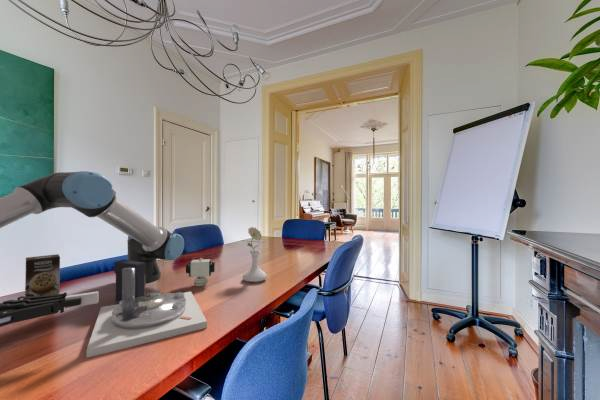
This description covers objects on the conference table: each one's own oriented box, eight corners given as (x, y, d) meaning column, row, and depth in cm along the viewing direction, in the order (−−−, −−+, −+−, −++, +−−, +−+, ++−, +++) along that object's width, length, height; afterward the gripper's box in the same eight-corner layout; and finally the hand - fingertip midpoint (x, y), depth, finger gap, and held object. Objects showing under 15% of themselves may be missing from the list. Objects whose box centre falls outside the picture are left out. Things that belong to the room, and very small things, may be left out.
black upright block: (146, 302, 95) (146, 261, 95) (136, 306, 91) (136, 264, 91) (125, 298, 98) (125, 259, 98) (113, 302, 94) (114, 261, 94)
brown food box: (25, 305, 91) (25, 260, 91) (24, 300, 95) (24, 257, 95) (60, 298, 97) (60, 256, 97) (58, 293, 102) (58, 253, 102)
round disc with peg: (115, 307, 84) (115, 257, 84) (181, 295, 95) (181, 251, 95) (108, 336, 67) (108, 273, 67) (190, 318, 78) (190, 264, 78)
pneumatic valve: (213, 286, 112) (214, 259, 112) (185, 287, 110) (185, 260, 110) (215, 282, 118) (215, 256, 118) (188, 283, 115) (188, 257, 115)
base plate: (101, 312, 86) (101, 306, 86) (191, 296, 101) (191, 290, 101) (86, 357, 62) (86, 348, 62) (206, 327, 77) (206, 320, 77)
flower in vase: (271, 281, 120) (271, 228, 119) (248, 285, 113) (248, 229, 113) (259, 274, 130) (259, 225, 130) (237, 278, 124) (237, 226, 124)
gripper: (-23, 322, 62) (101, 302, 74) (-58, 350, 51) (94, 321, 63) (-23, 291, 62) (101, 276, 74) (-58, 312, 51) (94, 290, 63)
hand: (98, 297), depth 69 cm, fingers closed
